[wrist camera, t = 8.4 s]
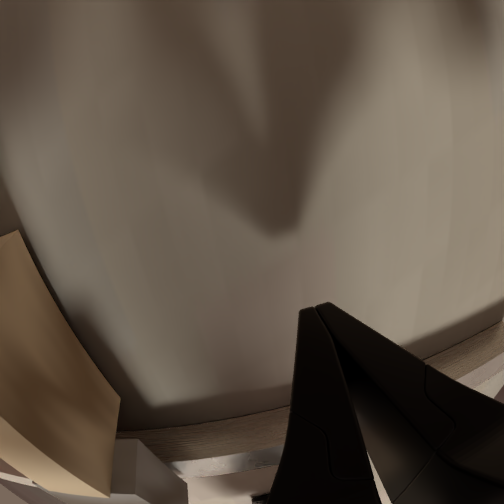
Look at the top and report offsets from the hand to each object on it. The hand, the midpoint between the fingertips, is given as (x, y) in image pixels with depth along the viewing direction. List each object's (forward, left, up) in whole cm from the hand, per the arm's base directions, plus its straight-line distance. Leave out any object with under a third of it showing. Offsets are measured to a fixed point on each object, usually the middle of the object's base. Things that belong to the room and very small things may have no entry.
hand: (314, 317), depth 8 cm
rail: (-8, +3, -2) cm, 9 cm away
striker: (-3, +9, -2) cm, 10 cm away
